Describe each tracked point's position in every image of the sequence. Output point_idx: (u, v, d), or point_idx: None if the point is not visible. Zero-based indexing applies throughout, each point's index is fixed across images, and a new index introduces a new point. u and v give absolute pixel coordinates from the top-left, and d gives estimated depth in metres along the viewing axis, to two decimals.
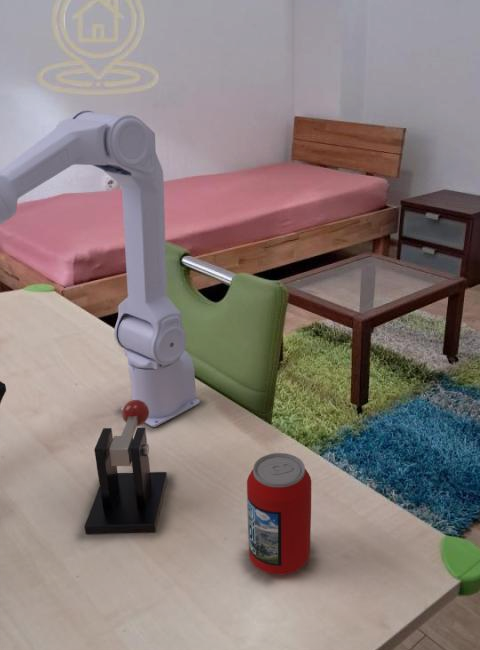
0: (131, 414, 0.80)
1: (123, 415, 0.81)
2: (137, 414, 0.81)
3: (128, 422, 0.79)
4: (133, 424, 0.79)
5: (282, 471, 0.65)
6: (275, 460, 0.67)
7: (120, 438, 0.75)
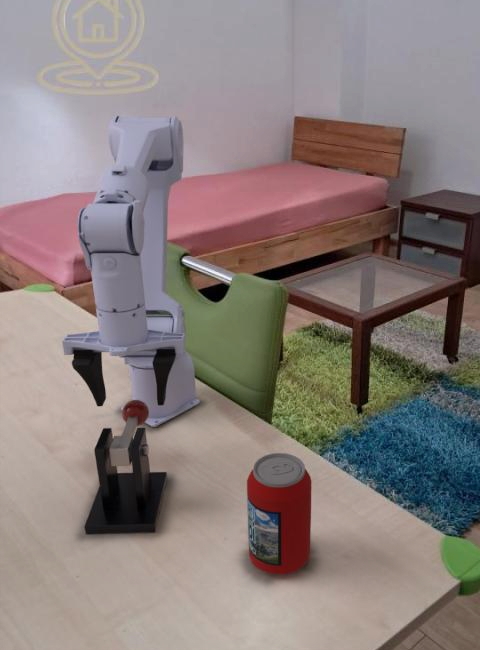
0: (131, 414, 0.80)
1: (123, 415, 0.81)
2: (137, 414, 0.81)
3: (128, 422, 0.79)
4: (133, 424, 0.79)
5: (282, 471, 0.65)
6: (275, 460, 0.67)
7: (120, 438, 0.75)
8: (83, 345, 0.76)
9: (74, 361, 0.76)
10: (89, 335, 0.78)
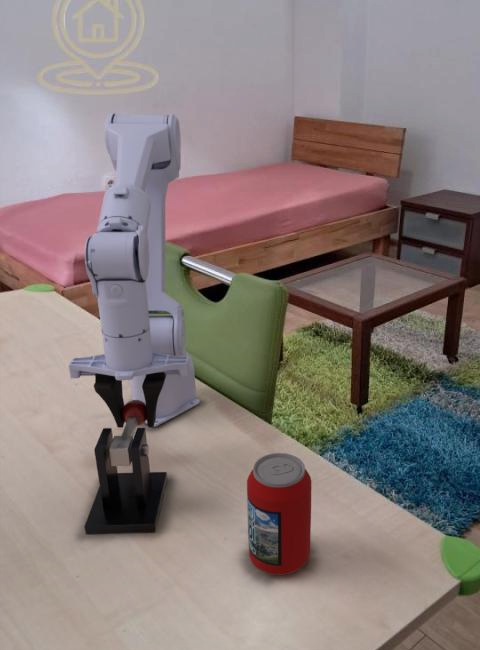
0: (131, 414, 0.80)
1: (123, 415, 0.81)
2: (137, 414, 0.81)
3: (128, 422, 0.79)
4: (133, 424, 0.79)
5: (282, 471, 0.65)
6: (275, 460, 0.67)
7: (120, 438, 0.75)
8: (89, 369, 0.77)
9: (96, 384, 0.78)
10: (95, 358, 0.80)
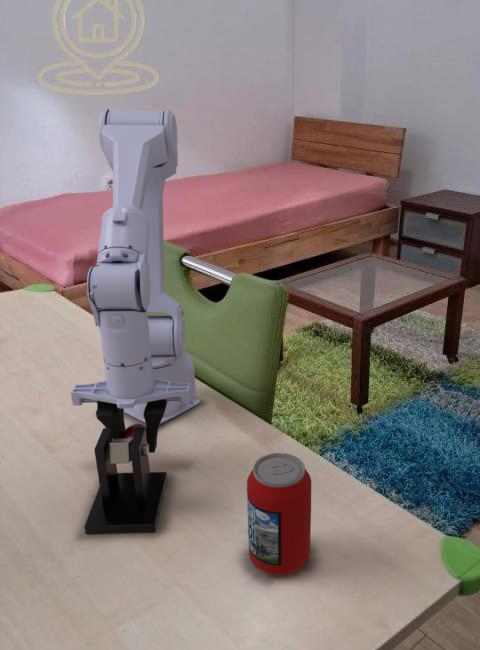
0: (133, 433, 0.81)
1: (125, 436, 0.82)
2: None
3: (129, 437, 0.80)
4: None
5: (282, 471, 0.65)
6: (275, 460, 0.67)
7: (121, 439, 0.75)
8: (91, 397, 0.78)
9: (98, 412, 0.79)
10: (97, 385, 0.80)
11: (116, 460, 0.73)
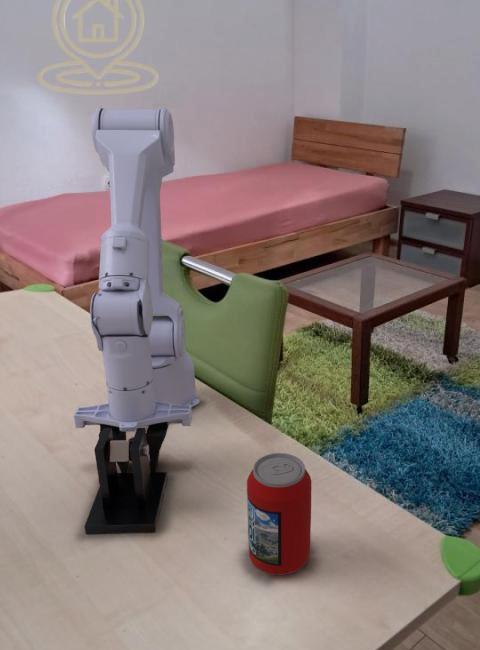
0: None
1: None
2: None
3: None
4: None
5: (282, 471, 0.65)
6: (275, 460, 0.67)
7: (121, 440, 0.75)
8: (94, 419, 0.79)
9: None
10: (99, 408, 0.81)
11: (116, 458, 0.73)
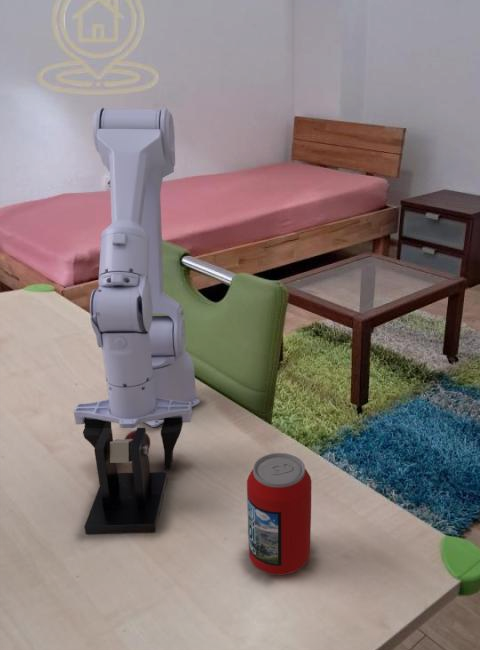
0: (133, 438, 0.81)
1: None
2: None
3: None
4: None
5: (282, 471, 0.65)
6: (275, 460, 0.67)
7: (121, 439, 0.75)
8: (94, 416, 0.79)
9: (85, 431, 0.80)
10: (99, 404, 0.81)
11: (116, 459, 0.73)
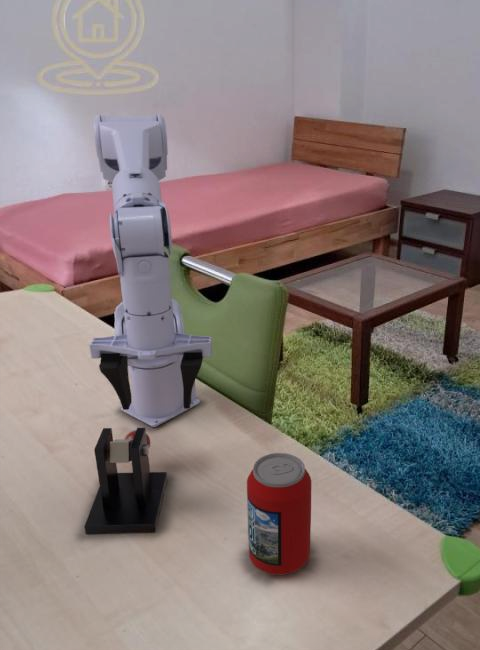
0: (133, 438, 0.81)
1: None
2: None
3: None
4: None
5: (282, 471, 0.65)
6: (275, 460, 0.67)
7: (121, 439, 0.75)
8: (111, 348, 0.76)
9: (101, 364, 0.76)
10: (116, 338, 0.78)
11: (116, 459, 0.73)
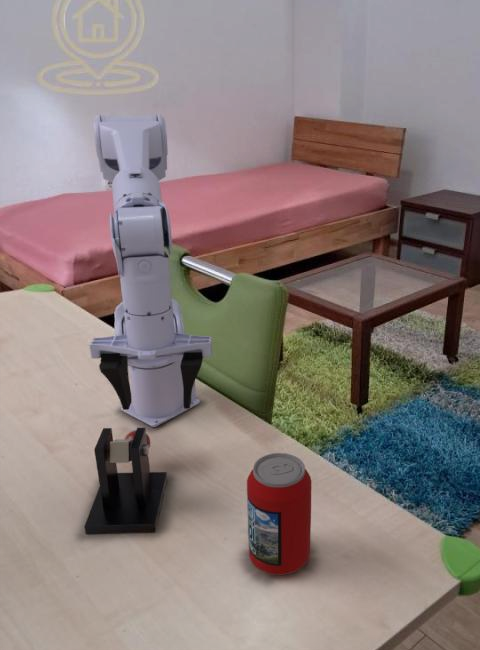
0: (133, 438, 0.81)
1: None
2: None
3: None
4: None
5: (282, 471, 0.65)
6: (275, 460, 0.67)
7: (121, 439, 0.75)
8: (111, 348, 0.76)
9: (101, 364, 0.76)
10: (116, 338, 0.78)
11: (116, 459, 0.73)
